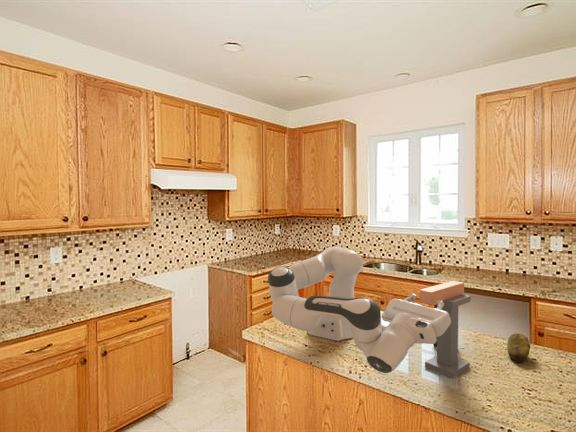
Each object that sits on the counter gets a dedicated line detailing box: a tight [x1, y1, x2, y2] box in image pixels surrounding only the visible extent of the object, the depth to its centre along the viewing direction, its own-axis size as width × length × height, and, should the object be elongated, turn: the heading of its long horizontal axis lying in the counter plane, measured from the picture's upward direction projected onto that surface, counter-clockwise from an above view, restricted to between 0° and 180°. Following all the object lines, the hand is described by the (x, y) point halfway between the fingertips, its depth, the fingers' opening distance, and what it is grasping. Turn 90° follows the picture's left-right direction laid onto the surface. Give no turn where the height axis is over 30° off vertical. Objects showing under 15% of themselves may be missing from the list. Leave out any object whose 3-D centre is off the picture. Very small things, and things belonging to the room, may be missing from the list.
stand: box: [424, 294, 472, 379], centre depth 119 cm, size 12×10×26 cm
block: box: [419, 280, 465, 305], centre depth 116 cm, size 22×4×4 cm, turn 126°
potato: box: [506, 333, 531, 363], centre depth 127 cm, size 8×13×8 cm, turn 129°
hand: (427, 298), depth 110 cm, fingers open, 8 cm apart
